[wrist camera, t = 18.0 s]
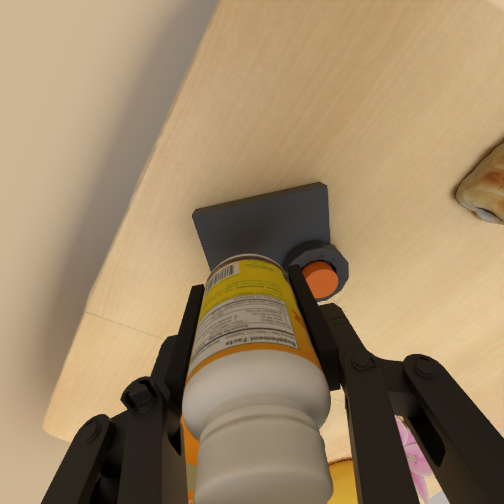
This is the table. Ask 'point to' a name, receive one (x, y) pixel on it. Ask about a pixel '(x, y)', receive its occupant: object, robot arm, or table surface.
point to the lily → (415, 461)
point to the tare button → (320, 278)
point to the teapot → (343, 483)
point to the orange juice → (190, 460)
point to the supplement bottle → (256, 391)
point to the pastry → (485, 188)
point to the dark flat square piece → (273, 230)
